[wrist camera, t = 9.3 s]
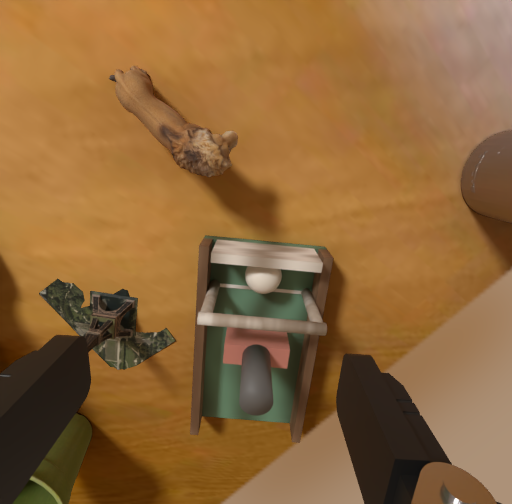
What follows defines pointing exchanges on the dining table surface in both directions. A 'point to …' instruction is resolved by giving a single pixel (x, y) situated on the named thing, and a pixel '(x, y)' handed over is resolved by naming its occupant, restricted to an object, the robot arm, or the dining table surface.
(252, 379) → the striker
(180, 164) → the lion figurine
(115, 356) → the eiffel tower figurine
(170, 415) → the dining table surface
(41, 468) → the plant pot
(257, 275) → the ball
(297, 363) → the pitch
